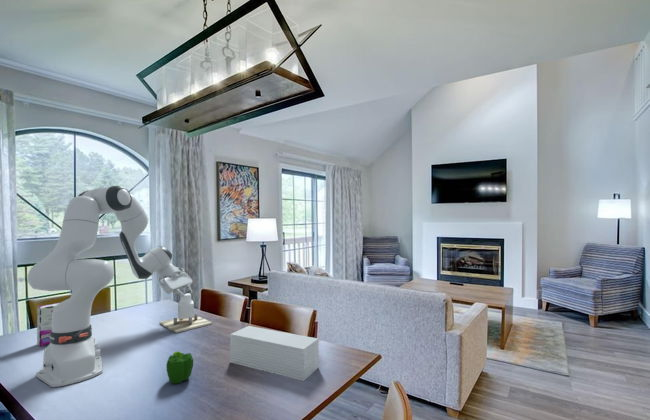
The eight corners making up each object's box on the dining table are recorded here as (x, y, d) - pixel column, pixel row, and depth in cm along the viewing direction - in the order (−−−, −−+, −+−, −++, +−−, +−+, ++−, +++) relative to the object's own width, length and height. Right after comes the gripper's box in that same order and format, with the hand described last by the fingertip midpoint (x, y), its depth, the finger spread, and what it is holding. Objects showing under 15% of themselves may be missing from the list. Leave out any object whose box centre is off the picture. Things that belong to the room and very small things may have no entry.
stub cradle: (211, 324, 166) (211, 316, 166) (176, 333, 153) (176, 324, 153) (193, 316, 179) (194, 308, 180) (159, 323, 166) (159, 316, 166)
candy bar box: (68, 337, 147) (69, 300, 148) (71, 339, 144) (72, 302, 145) (36, 344, 139) (37, 306, 139) (39, 347, 136) (40, 308, 136)
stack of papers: (230, 362, 122) (230, 334, 122) (248, 352, 131) (248, 325, 132) (303, 381, 108) (303, 349, 108) (318, 368, 117) (318, 338, 118)
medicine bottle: (178, 315, 168) (178, 292, 168) (193, 313, 171) (193, 291, 171) (178, 319, 162) (178, 295, 162) (193, 317, 164) (193, 293, 165)
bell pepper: (185, 371, 114) (185, 343, 114) (197, 379, 109) (197, 349, 109) (160, 380, 108) (161, 350, 108) (172, 389, 102) (172, 357, 103)
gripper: (161, 274, 157) (179, 295, 156) (184, 267, 178) (201, 286, 176) (152, 283, 158) (171, 303, 156) (176, 275, 178) (193, 294, 177)
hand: (187, 294), depth 166 cm, fingers closed on medicine bottle, 6 cm apart
